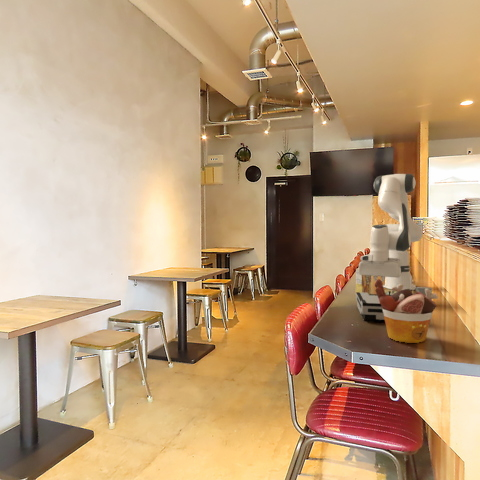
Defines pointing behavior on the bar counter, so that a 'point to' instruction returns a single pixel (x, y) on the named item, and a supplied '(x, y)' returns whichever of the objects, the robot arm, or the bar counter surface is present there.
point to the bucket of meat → (406, 313)
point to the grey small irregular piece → (423, 290)
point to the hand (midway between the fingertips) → (379, 285)
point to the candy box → (363, 283)
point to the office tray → (370, 306)
